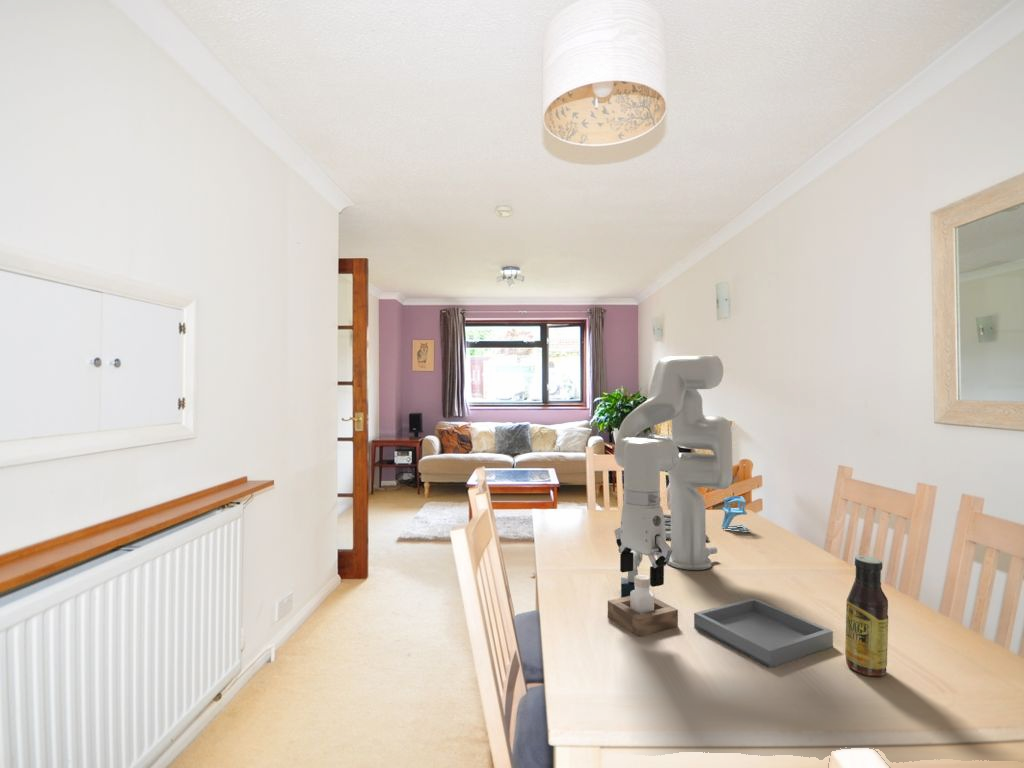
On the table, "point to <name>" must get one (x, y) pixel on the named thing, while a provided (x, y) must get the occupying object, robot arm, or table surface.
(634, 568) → the watch
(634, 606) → the salt shaker
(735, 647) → the tray
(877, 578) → the sauce bottle
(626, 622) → the shaker holder
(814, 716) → the table surface
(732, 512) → the chair
